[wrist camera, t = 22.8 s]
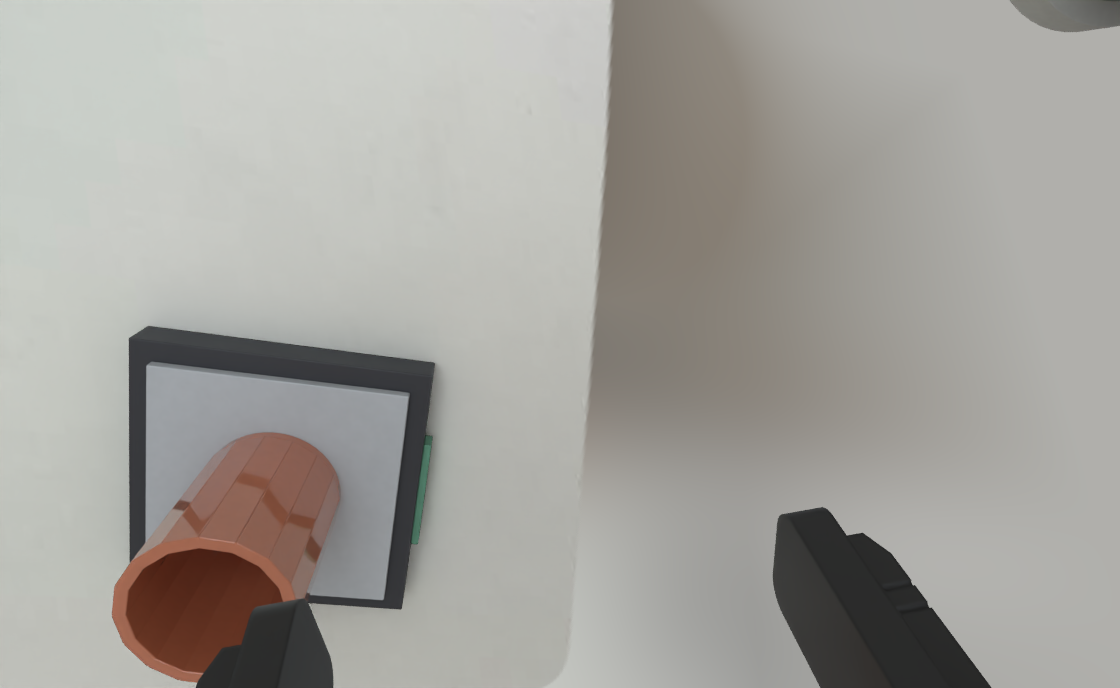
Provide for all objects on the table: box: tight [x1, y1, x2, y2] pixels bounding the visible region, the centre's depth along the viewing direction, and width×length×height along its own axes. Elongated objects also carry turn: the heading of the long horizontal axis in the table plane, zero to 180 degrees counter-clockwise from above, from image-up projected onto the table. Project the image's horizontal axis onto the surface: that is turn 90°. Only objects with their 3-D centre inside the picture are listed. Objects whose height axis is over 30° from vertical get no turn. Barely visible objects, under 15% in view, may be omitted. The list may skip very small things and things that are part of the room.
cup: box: [112, 432, 341, 683], centre depth 30 cm, size 7×7×9 cm
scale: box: [129, 326, 435, 609], centre depth 36 cm, size 14×14×3 cm
